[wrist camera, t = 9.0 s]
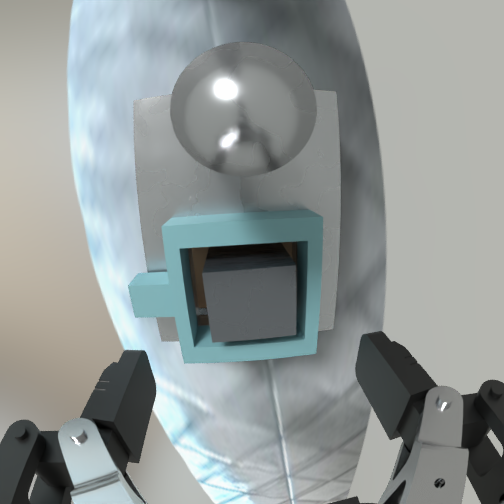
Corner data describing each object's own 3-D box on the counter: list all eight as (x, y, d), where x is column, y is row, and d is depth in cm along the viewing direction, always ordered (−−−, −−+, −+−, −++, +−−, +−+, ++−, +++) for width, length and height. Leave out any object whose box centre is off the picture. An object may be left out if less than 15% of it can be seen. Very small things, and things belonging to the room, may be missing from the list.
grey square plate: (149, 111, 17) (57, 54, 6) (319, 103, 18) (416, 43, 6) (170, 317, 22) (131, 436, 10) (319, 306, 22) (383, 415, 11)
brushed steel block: (211, 237, 20) (202, 273, 13) (274, 232, 20) (296, 265, 14) (217, 289, 21) (212, 342, 14) (276, 284, 21) (296, 334, 15)
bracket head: (131, 221, 16) (116, 230, 13) (310, 209, 16) (323, 216, 14) (154, 341, 18) (146, 363, 16) (306, 332, 19) (316, 353, 16)
